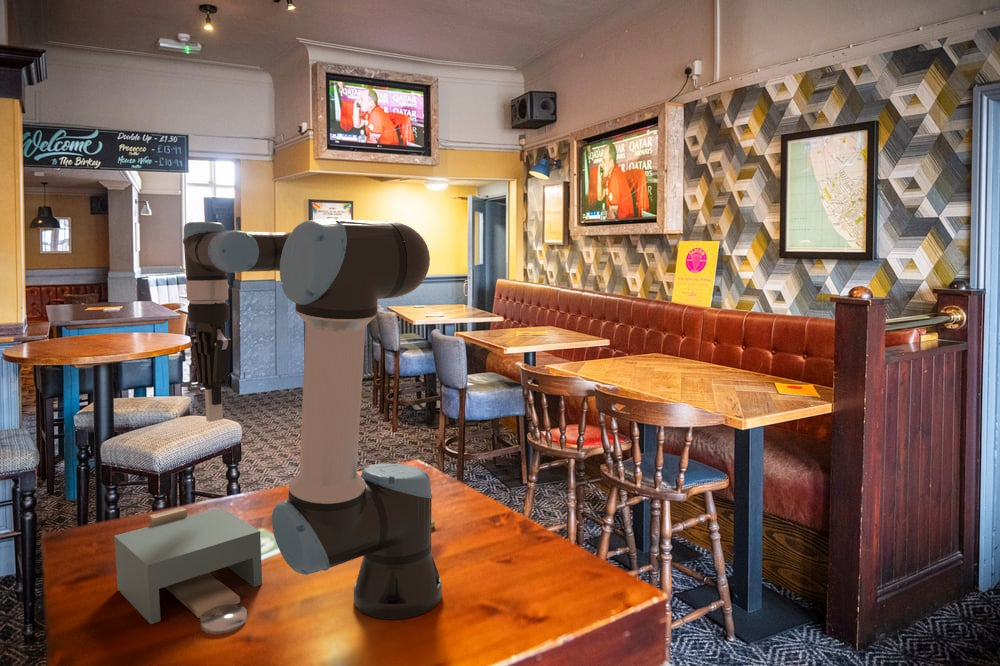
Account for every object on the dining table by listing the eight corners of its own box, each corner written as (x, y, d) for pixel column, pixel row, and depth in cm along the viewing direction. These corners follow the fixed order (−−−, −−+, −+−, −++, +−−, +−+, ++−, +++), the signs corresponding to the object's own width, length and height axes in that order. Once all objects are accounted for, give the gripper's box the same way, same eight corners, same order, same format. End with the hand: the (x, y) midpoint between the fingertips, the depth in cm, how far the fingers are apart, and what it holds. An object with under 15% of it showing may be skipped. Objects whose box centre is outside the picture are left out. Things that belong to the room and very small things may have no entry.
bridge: (262, 584, 125) (260, 531, 124) (150, 624, 112) (147, 565, 110) (223, 556, 136) (221, 507, 135) (117, 589, 123) (114, 535, 122)
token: (252, 626, 112) (252, 617, 112) (206, 640, 108) (206, 631, 108) (239, 608, 117) (239, 600, 117) (195, 621, 113) (195, 612, 113)
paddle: (240, 602, 118) (237, 540, 117) (198, 618, 113) (195, 553, 112) (188, 561, 133) (185, 506, 132) (149, 573, 128) (146, 516, 127)
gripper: (242, 302, 134) (248, 421, 137) (211, 299, 143) (217, 412, 146) (204, 304, 129) (211, 428, 131) (174, 301, 138) (181, 418, 140)
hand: (214, 419), depth 139 cm, fingers closed
